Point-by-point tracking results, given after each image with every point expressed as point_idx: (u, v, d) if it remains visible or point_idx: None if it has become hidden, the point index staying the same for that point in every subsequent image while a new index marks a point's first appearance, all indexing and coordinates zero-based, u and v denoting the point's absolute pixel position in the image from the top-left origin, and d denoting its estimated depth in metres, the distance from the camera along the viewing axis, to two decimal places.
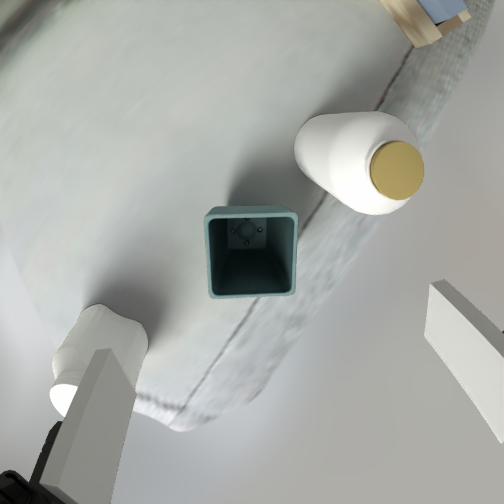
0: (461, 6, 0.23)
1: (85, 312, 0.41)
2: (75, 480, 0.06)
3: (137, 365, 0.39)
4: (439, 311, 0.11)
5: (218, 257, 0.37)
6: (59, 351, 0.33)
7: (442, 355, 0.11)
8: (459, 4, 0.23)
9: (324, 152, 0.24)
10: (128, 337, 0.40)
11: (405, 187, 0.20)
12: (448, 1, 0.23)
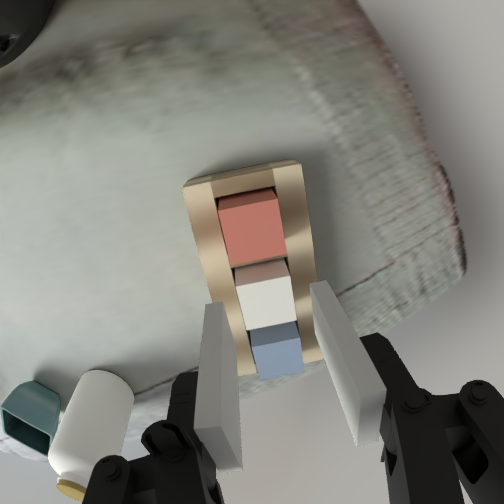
0: (293, 369, 0.30)
1: None
2: (226, 421, 0.08)
3: None
4: (316, 310, 0.13)
5: None
6: None
7: (323, 353, 0.13)
8: (292, 367, 0.30)
9: (51, 445, 0.26)
10: None
11: (77, 498, 0.23)
12: (275, 364, 0.30)
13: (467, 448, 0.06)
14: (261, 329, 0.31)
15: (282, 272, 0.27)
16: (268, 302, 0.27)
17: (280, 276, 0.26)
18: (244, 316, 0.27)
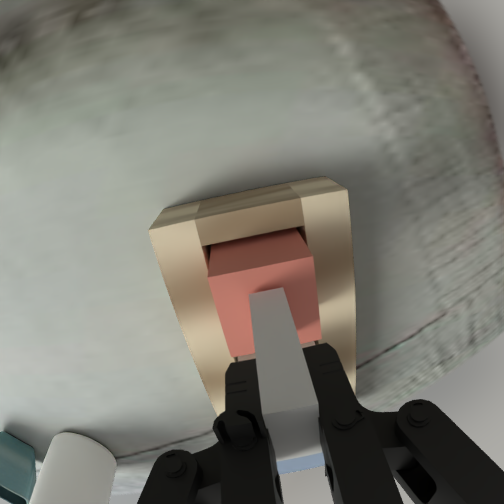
0: (316, 464, 0.20)
1: None
2: None
3: None
4: None
5: None
6: None
7: None
8: (314, 462, 0.20)
9: None
10: None
11: None
12: (292, 461, 0.19)
13: (415, 467, 0.07)
14: None
15: None
16: None
17: None
18: None
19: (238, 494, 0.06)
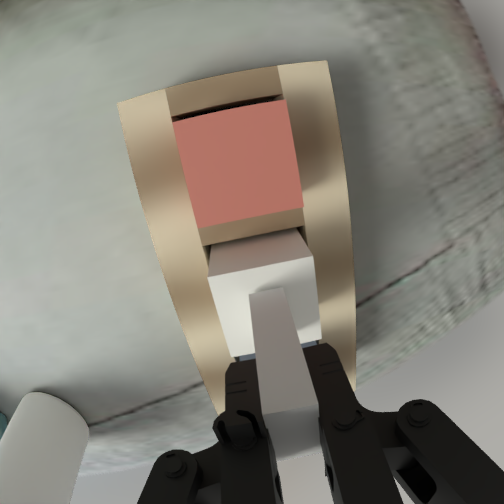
0: None
1: None
2: None
3: None
4: None
5: None
6: None
7: None
8: None
9: None
10: None
11: None
12: None
13: (415, 467, 0.07)
14: None
15: (297, 250, 0.14)
16: None
17: (293, 257, 0.14)
18: (226, 333, 0.15)
19: (238, 494, 0.06)
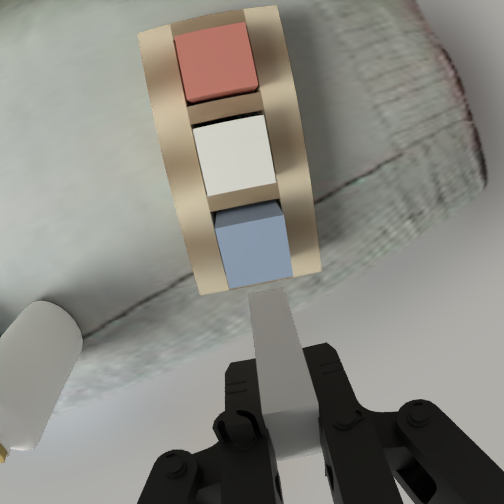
0: (277, 272, 0.22)
1: None
2: None
3: None
4: None
5: None
6: None
7: None
8: (274, 268, 0.22)
9: None
10: None
11: None
12: (249, 260, 0.22)
13: (415, 467, 0.07)
14: (232, 214, 0.23)
15: None
16: (236, 152, 0.20)
17: None
18: (204, 173, 0.20)
19: (238, 494, 0.06)
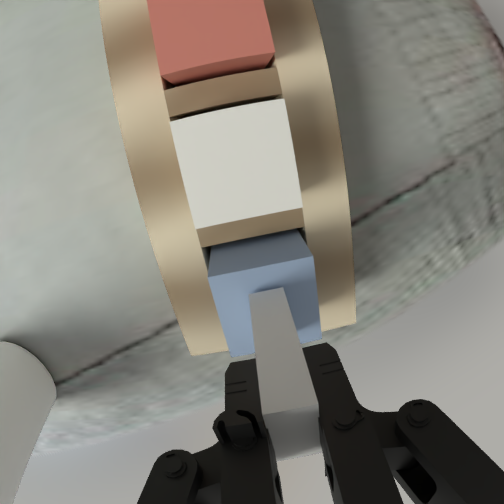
0: (299, 335, 0.15)
1: None
2: None
3: None
4: None
5: None
6: None
7: None
8: (296, 330, 0.15)
9: None
10: None
11: None
12: None
13: (415, 467, 0.07)
14: (233, 250, 0.16)
15: None
16: (239, 159, 0.12)
17: None
18: (189, 193, 0.13)
19: (238, 494, 0.06)
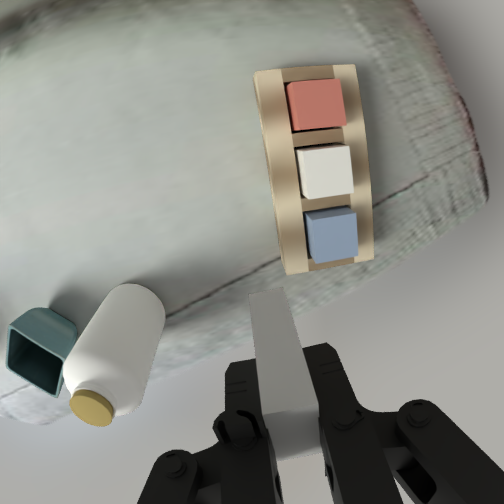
0: (348, 252, 0.31)
1: None
2: None
3: None
4: None
5: None
6: None
7: None
8: (347, 249, 0.31)
9: None
10: None
11: (93, 420, 0.23)
12: (331, 243, 0.31)
13: (415, 467, 0.07)
14: (317, 212, 0.32)
15: (341, 146, 0.29)
16: (330, 170, 0.29)
17: (340, 146, 0.28)
18: (308, 183, 0.29)
19: (238, 494, 0.06)
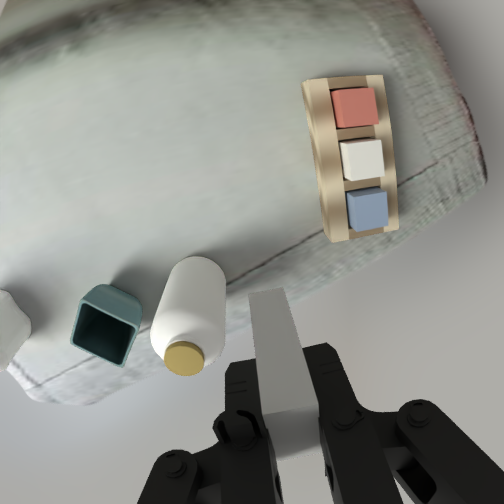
0: (381, 223, 0.39)
1: None
2: None
3: (16, 349, 0.43)
4: None
5: (90, 314, 0.45)
6: None
7: None
8: (380, 220, 0.39)
9: (156, 315, 0.34)
10: (17, 328, 0.44)
11: (184, 370, 0.31)
12: (368, 215, 0.38)
13: (415, 467, 0.07)
14: (355, 191, 0.39)
15: (374, 139, 0.35)
16: (367, 158, 0.36)
17: (374, 140, 0.35)
18: (351, 168, 0.36)
19: (238, 494, 0.06)
